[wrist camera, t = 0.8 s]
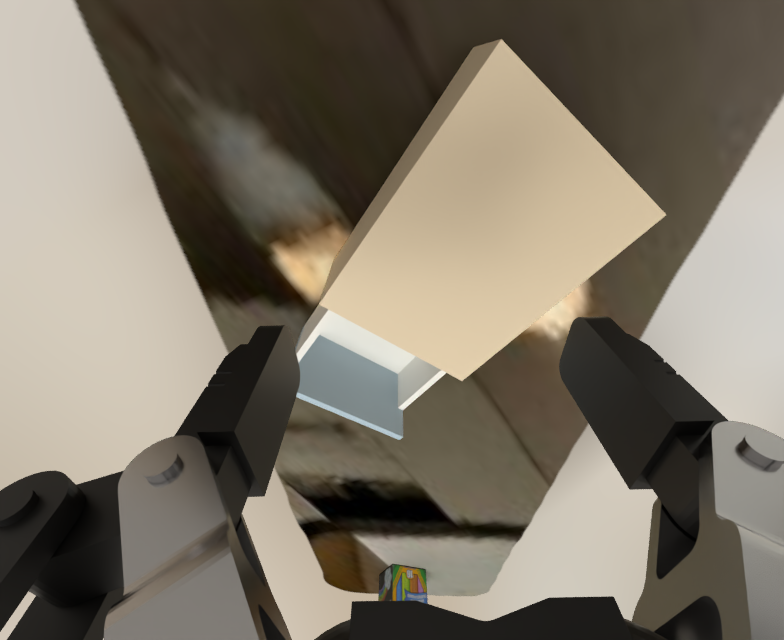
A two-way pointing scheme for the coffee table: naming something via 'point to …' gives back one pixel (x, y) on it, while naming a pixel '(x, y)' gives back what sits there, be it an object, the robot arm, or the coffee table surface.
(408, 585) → the chalk box
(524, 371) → the coffee table surface
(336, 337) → the inner tray
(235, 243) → the coffee table surface
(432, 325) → the sleeve
